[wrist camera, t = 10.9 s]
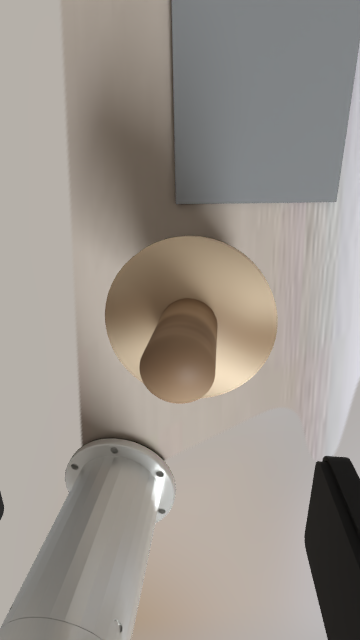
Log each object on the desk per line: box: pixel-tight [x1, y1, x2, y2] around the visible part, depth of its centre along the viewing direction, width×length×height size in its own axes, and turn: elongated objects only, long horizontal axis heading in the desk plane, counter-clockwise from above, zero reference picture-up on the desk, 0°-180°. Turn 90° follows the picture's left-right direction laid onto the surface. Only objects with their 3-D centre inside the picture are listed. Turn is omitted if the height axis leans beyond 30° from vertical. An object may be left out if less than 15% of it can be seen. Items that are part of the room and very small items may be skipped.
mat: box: [172, 0, 360, 204], centre depth 23 cm, size 14×12×1 cm
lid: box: [105, 236, 277, 403], centre depth 17 cm, size 10×10×6 cm
